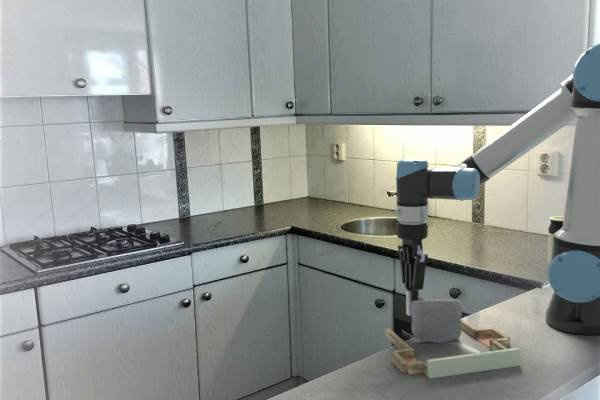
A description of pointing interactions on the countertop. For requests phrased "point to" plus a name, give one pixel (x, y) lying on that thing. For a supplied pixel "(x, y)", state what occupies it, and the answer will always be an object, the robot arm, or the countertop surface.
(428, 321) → the stone block
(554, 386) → the countertop surface
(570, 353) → the countertop surface
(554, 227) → the travel mug
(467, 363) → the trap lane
